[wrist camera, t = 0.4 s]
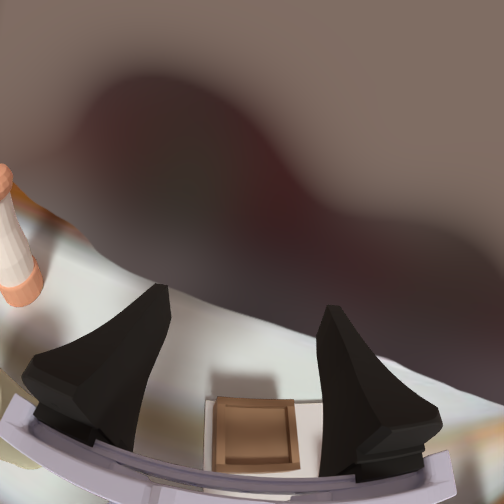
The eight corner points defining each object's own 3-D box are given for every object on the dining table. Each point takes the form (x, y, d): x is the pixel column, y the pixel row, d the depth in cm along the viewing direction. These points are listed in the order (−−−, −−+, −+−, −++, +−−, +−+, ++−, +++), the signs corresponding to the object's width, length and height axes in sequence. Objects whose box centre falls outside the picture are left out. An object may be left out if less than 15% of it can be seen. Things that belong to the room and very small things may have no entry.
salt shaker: (43, 264, 33) (15, 144, 21) (44, 301, 29) (2, 171, 17) (5, 274, 29) (-32, 159, 17) (2, 311, 25) (-51, 189, 13)
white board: (368, 507, 18) (371, 507, 18) (203, 529, 15) (204, 530, 15) (352, 401, 29) (354, 400, 29) (205, 401, 26) (205, 399, 26)
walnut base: (286, 472, 21) (300, 469, 19) (211, 473, 20) (216, 471, 17) (281, 409, 27) (294, 399, 24) (212, 407, 26) (217, 396, 23)
